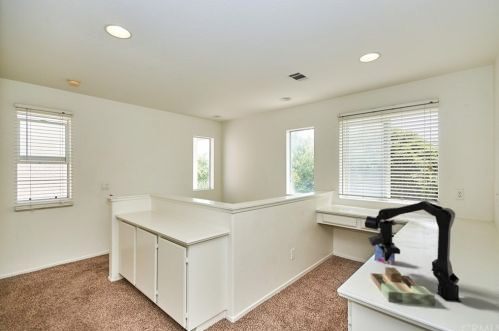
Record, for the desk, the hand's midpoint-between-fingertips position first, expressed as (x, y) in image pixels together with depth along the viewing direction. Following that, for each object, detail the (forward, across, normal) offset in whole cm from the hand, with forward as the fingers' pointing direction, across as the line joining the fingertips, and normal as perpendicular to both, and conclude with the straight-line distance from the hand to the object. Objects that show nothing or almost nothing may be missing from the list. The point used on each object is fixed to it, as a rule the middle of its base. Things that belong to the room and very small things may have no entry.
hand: (386, 261), depth 125 cm
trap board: (+8, +15, 0) cm, 17 cm away
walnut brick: (+5, +8, 0) cm, 10 cm away
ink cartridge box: (+8, -20, +7) cm, 23 cm away
